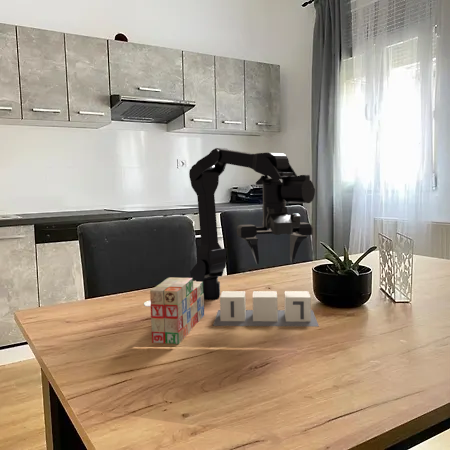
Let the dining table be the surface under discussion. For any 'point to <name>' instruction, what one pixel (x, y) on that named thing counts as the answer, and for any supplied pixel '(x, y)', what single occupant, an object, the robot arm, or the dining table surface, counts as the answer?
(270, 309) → the blank block
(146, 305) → the spoon
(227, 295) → the digit block 1
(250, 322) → the tap mat
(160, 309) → the stack of blocks
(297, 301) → the digit block 7
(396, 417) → the dining table surface
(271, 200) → the robot arm
